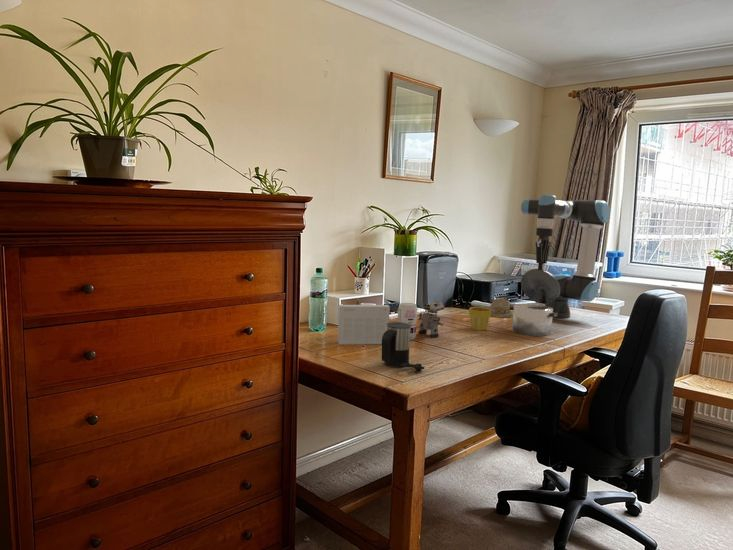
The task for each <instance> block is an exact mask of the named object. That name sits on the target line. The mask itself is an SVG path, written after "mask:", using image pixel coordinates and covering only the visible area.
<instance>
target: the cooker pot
mask: <svg viewBox="0 0 733 550" xmlns="http://www.w3.org/2000/svg"><path fill="white" fill-rule="evenodd" d="M510 310H511V311H512V313H513V318H512V323H511V324H512V327H511V331H512V332H514V333H516V334H520V335H525V336H531V337H545V336H546V337H548V336H551V335H552V326H553V318H555V317H556V316H557V313H556V312H553V308H552V307H549V306H546V305H545V304H541V303H538V304H536V303H516V304H513V305H511V306H510ZM550 334H551V335H550ZM547 335H548V336H547Z"/></svg>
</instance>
